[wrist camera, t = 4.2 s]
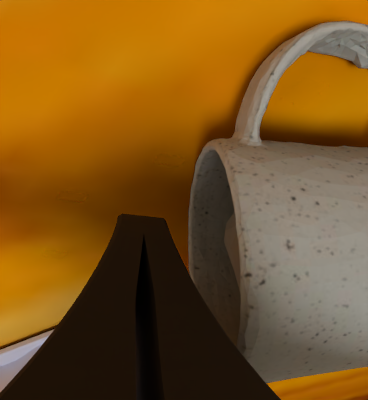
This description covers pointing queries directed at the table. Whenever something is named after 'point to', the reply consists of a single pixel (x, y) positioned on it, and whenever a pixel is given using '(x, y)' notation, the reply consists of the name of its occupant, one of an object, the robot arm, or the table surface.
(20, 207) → the table surface
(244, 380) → the robot arm
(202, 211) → the ceramic mug
